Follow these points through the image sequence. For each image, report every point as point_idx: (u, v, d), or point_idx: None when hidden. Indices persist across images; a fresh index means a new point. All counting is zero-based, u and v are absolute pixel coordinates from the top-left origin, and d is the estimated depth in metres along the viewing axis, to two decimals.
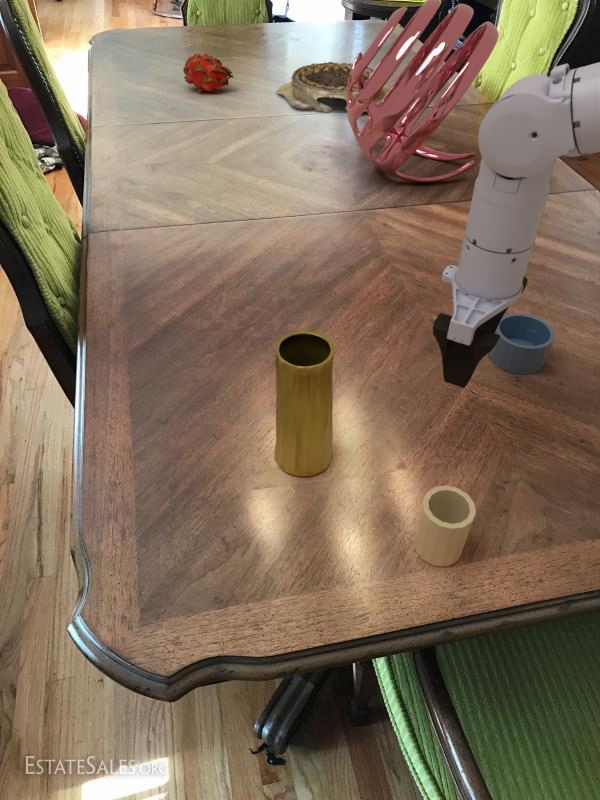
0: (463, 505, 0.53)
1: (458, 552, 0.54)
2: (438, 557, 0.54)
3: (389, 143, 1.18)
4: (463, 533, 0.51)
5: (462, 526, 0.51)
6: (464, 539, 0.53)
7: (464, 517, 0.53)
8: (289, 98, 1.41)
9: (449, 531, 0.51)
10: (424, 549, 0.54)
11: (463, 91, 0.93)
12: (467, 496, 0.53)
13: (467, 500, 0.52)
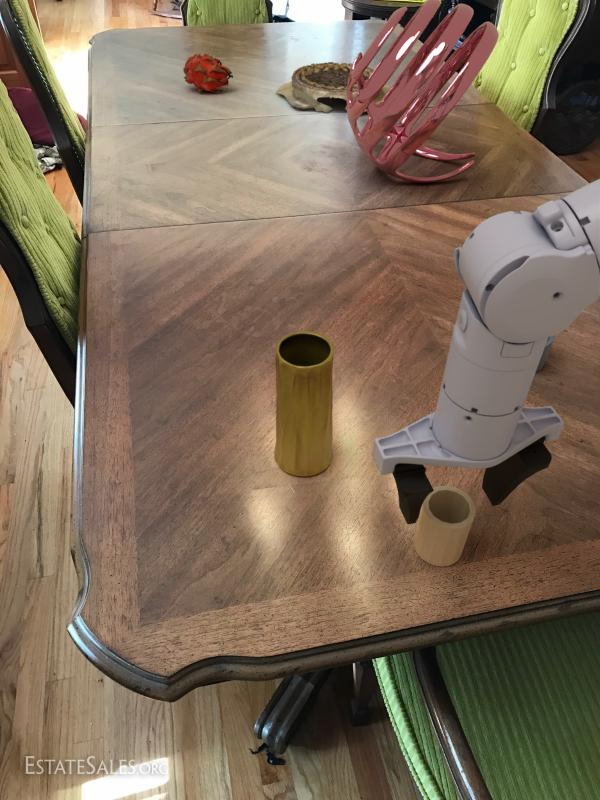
0: (463, 505, 0.53)
1: (458, 552, 0.54)
2: (438, 557, 0.54)
3: (389, 143, 1.18)
4: (463, 533, 0.51)
5: (462, 526, 0.51)
6: (464, 539, 0.53)
7: (464, 517, 0.53)
8: (289, 98, 1.41)
9: (449, 531, 0.51)
10: (424, 549, 0.54)
11: (463, 91, 0.93)
12: (467, 496, 0.53)
13: (467, 500, 0.52)
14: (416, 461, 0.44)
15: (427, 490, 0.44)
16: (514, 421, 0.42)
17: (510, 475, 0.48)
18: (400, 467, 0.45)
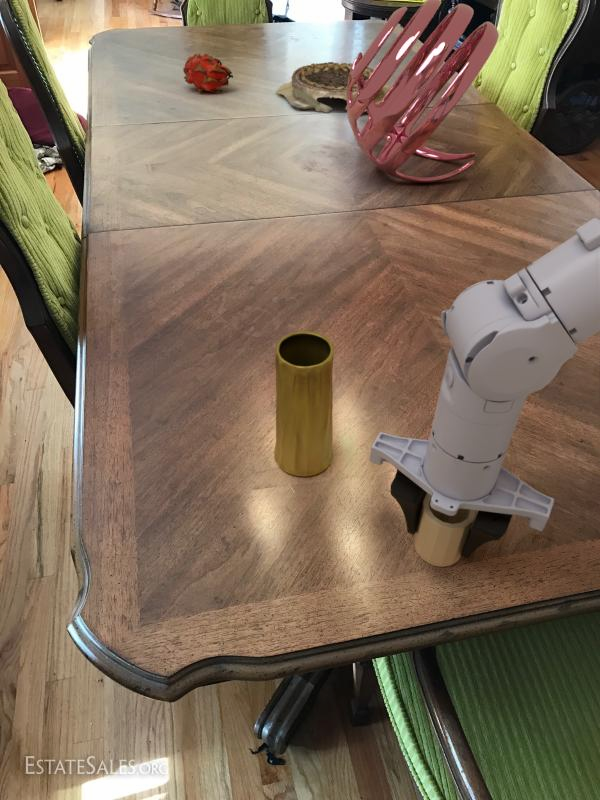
0: None
1: (458, 552, 0.54)
2: (438, 557, 0.54)
3: (389, 143, 1.18)
4: (463, 533, 0.51)
5: (462, 526, 0.51)
6: (464, 539, 0.53)
7: (465, 517, 0.53)
8: (289, 98, 1.41)
9: (449, 531, 0.51)
10: (424, 549, 0.54)
11: (463, 91, 0.93)
12: None
13: None
14: None
15: None
16: None
17: None
18: None
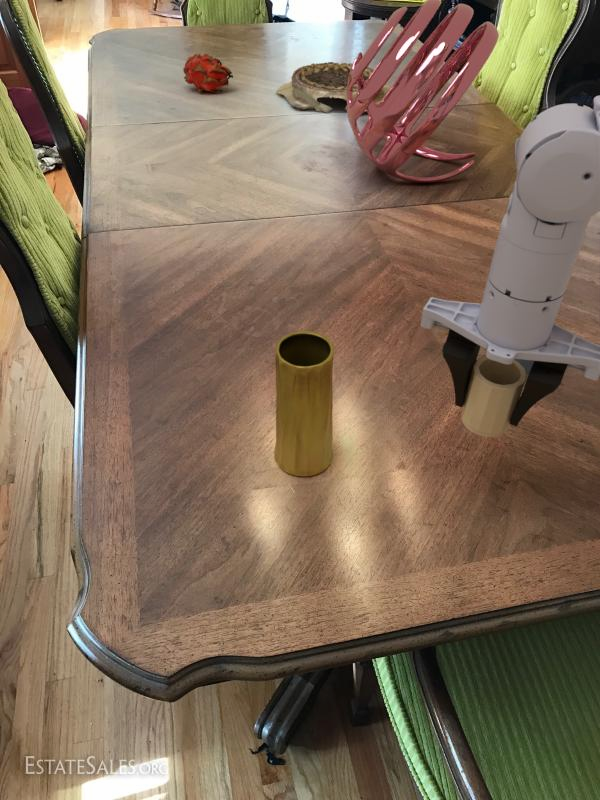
0: (512, 373, 0.54)
1: (507, 420, 0.54)
2: (487, 425, 0.54)
3: (389, 143, 1.18)
4: (514, 396, 0.52)
5: (514, 387, 0.51)
6: (514, 405, 0.53)
7: None
8: (289, 98, 1.41)
9: (501, 392, 0.51)
10: (473, 419, 0.54)
11: (463, 91, 0.93)
12: (517, 363, 0.53)
13: (517, 366, 0.53)
14: None
15: None
16: None
17: (477, 353, 0.54)
18: None
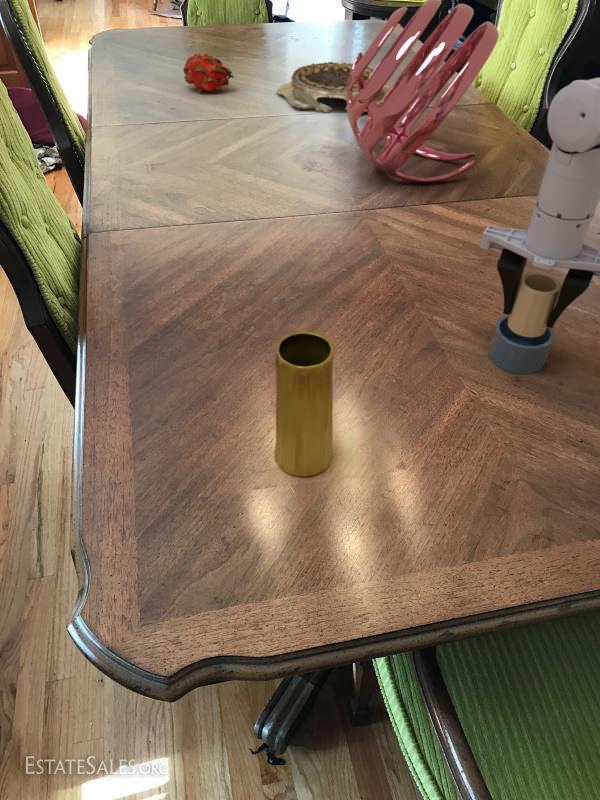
0: (550, 286, 0.69)
1: (545, 323, 0.70)
2: (529, 327, 0.70)
3: (389, 143, 1.18)
4: (551, 301, 0.68)
5: (552, 293, 0.67)
6: (551, 310, 0.69)
7: None
8: (289, 98, 1.41)
9: (542, 297, 0.67)
10: (518, 322, 0.70)
11: (463, 91, 0.93)
12: (553, 277, 0.69)
13: (554, 280, 0.69)
14: None
15: None
16: None
17: (522, 271, 0.70)
18: None
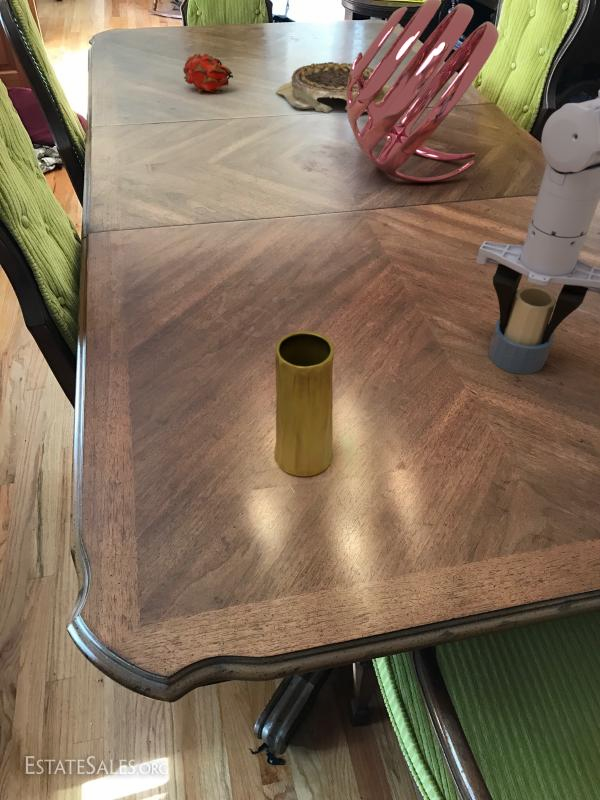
0: (545, 300, 0.71)
1: (540, 337, 0.71)
2: (525, 340, 0.71)
3: (389, 143, 1.18)
4: (546, 315, 0.69)
5: (547, 307, 0.68)
6: (546, 323, 0.70)
7: None
8: (289, 98, 1.41)
9: (537, 312, 0.68)
10: (514, 335, 0.72)
11: (463, 91, 0.93)
12: (548, 292, 0.70)
13: (549, 294, 0.70)
14: None
15: None
16: None
17: (518, 285, 0.71)
18: None
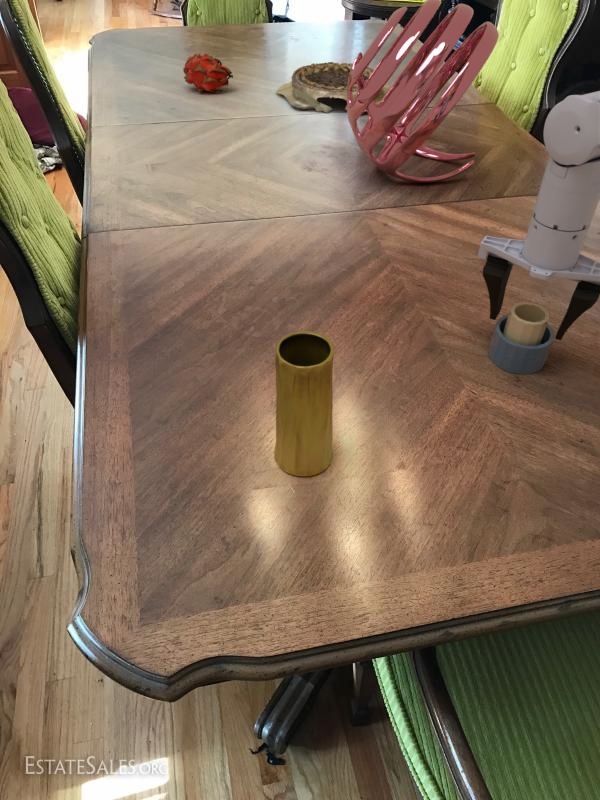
0: (539, 315, 0.72)
1: None
2: None
3: (389, 143, 1.18)
4: (540, 330, 0.70)
5: (541, 323, 0.70)
6: (540, 338, 0.72)
7: None
8: (289, 98, 1.41)
9: (531, 327, 0.70)
10: None
11: (463, 91, 0.93)
12: (542, 307, 0.72)
13: (543, 310, 0.72)
14: None
15: None
16: None
17: (508, 277, 0.71)
18: None
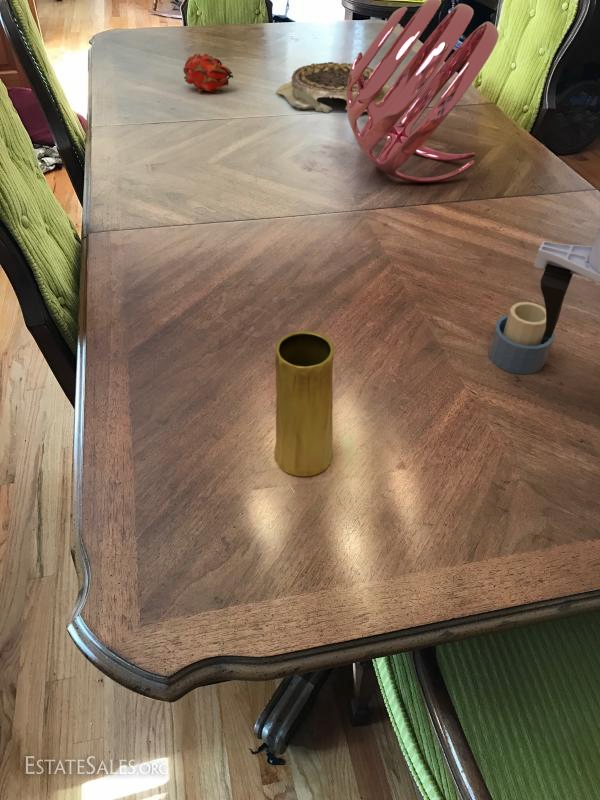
0: (539, 315, 0.72)
1: None
2: None
3: (389, 143, 1.18)
4: (540, 330, 0.70)
5: (541, 323, 0.70)
6: (540, 338, 0.72)
7: None
8: (289, 98, 1.41)
9: (531, 327, 0.70)
10: None
11: (463, 91, 0.93)
12: (542, 307, 0.72)
13: (543, 310, 0.72)
14: None
15: None
16: None
17: (567, 288, 0.61)
18: None
